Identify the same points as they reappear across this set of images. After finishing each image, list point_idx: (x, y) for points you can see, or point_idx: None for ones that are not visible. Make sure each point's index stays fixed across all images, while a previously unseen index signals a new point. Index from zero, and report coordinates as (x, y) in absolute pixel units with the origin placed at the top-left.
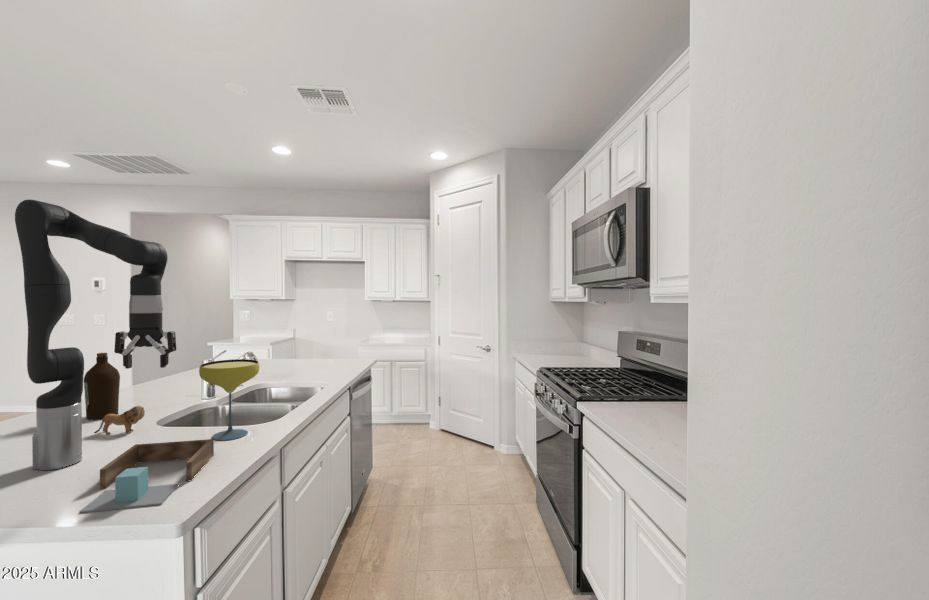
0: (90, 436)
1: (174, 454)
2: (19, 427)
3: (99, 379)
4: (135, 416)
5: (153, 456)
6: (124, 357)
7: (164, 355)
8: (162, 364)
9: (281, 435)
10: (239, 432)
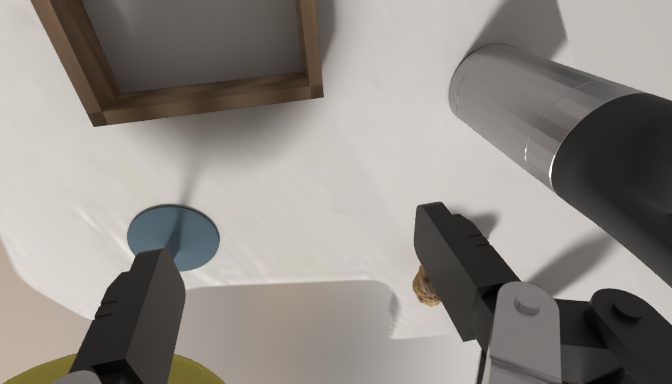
0: (488, 231)
1: (211, 87)
2: (614, 266)
3: (563, 381)
4: (425, 276)
5: (267, 80)
6: (500, 273)
7: (90, 369)
8: (134, 268)
9: (10, 240)
10: (147, 246)
